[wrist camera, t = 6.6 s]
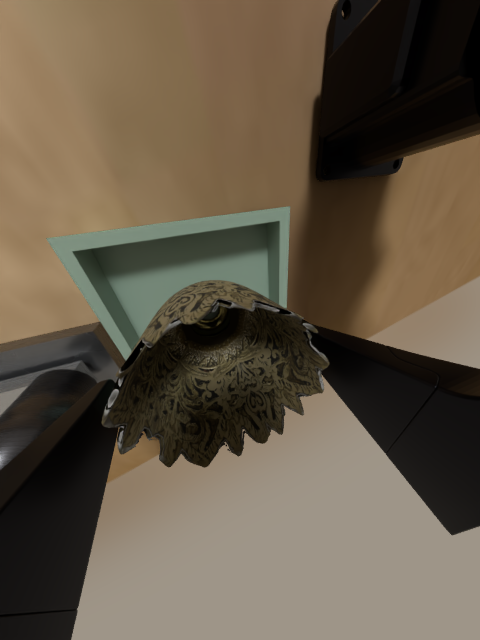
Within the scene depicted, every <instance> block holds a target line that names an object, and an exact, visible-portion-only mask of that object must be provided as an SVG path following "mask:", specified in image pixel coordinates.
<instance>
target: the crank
mask: <svg viewBox="0 0 480 640" xmlns="http://www.w3.org/2000/svg"><path fill="white" fill-rule="evenodd" d="M96 381H97V378H96V377H95V376H94V374H93V373H92V372H91V371H90V370H89V369H88V367H87V366H86V365H85V364H84V363H83V361H82V360H81V361H77V362H73V363H69V364H65V365H61V366H57V367H53V368H50V369H46V370H42V371H38V372H34V373H30V374H26V375H22V376H18V377H15V378H11V379H7V380H3V381H0V470H1V469H2V468H3V467H4V466H6V465H7V464H8V463H9V462H10V461H11V460H12V459H13V458H14V457H16V456H17V455H18V454H19V453H20V452H21V451H22V450H23V449H25V448H26V447H27V446H28V445H29V444H30V443H31V442H32V441H34V440H35V439H36V438H37V437H38V436H39V435H40V434H41V433H42V432H44V431H45V430H46V429H47V428H48V427H49V426H50V425H51V424H53V423H54V422H55V421H56V420H57V419H58V418H59V417H60V416H62V415H63V414H64V413H65V412H66V411H67V410H68V409H69V408H70V407H72V406H73V405H74V404H75V403H76V402H77V401H78V400H79V399H81V398H82V397H83V396H84V395H85V394H86V393H87V392H88V391H89V390H91V389H92V388H93V387H94V386H95V385H96V384H97V382H96Z"/></svg>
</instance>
